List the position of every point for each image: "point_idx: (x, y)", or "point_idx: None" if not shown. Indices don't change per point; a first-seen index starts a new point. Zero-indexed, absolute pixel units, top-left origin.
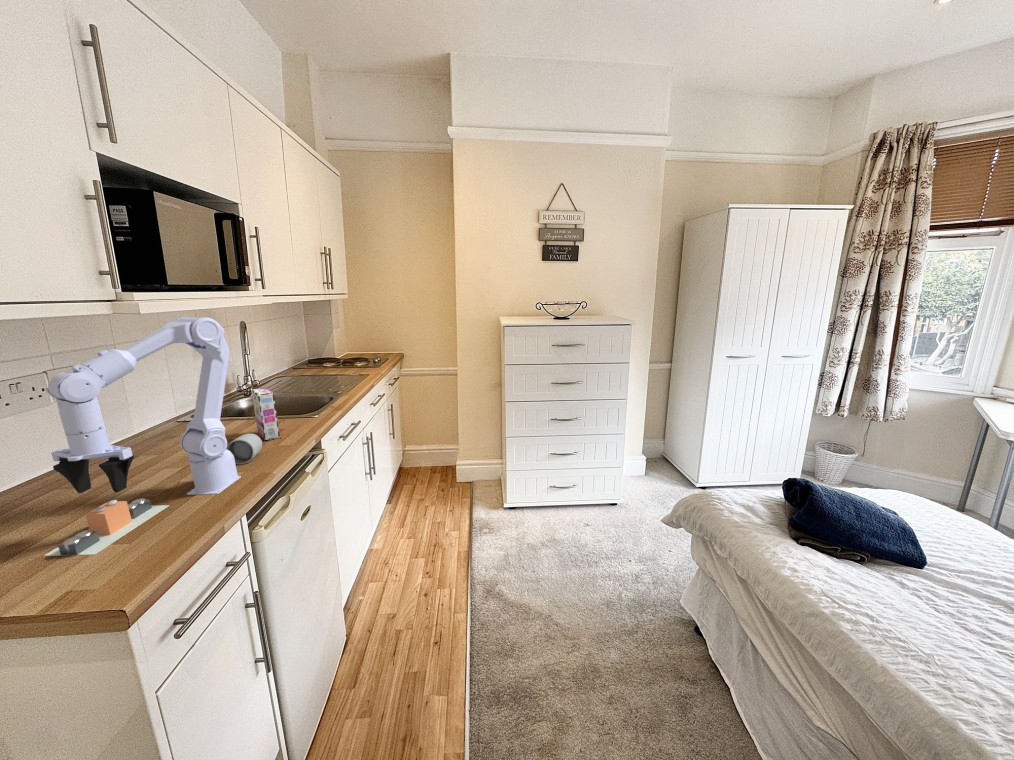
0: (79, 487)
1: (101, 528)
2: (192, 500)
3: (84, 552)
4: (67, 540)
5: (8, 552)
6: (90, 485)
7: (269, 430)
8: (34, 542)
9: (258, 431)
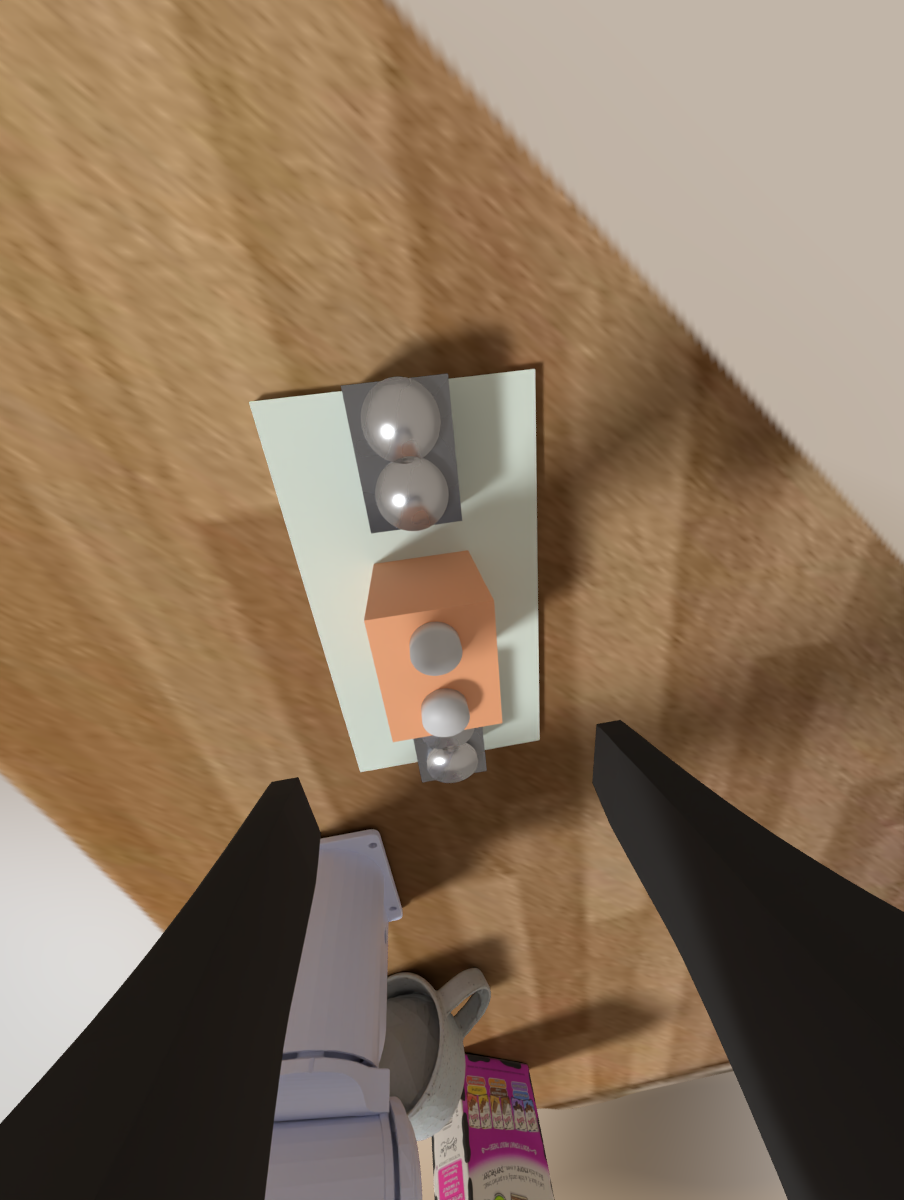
0: (627, 768)
1: (409, 571)
2: (315, 809)
3: (334, 414)
4: (426, 416)
5: (754, 398)
6: (602, 806)
7: None
8: (703, 483)
9: (523, 1077)
